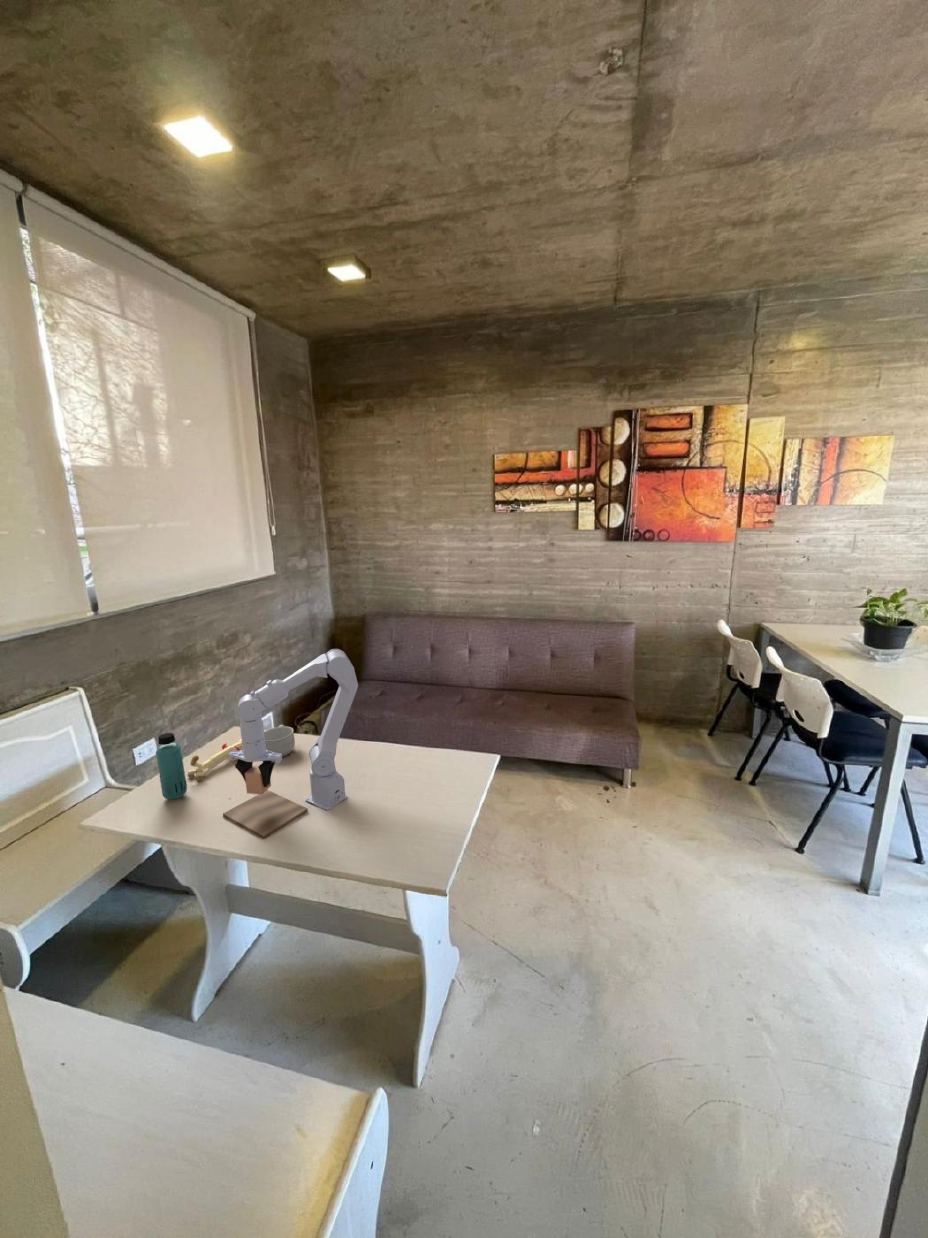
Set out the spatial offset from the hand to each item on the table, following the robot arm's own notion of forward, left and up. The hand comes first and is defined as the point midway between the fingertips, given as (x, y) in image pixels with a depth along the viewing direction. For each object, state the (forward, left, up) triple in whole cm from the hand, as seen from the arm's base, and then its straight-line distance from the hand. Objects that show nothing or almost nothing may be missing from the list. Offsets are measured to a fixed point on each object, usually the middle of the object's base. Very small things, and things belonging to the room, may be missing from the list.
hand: (258, 784), depth 135 cm
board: (-2, 0, -8) cm, 9 cm away
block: (0, 0, -2) cm, 2 cm away
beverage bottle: (+28, +9, -9) cm, 31 cm away
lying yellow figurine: (+35, -12, -9) cm, 38 cm away
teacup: (+26, -26, -9) cm, 38 cm away
